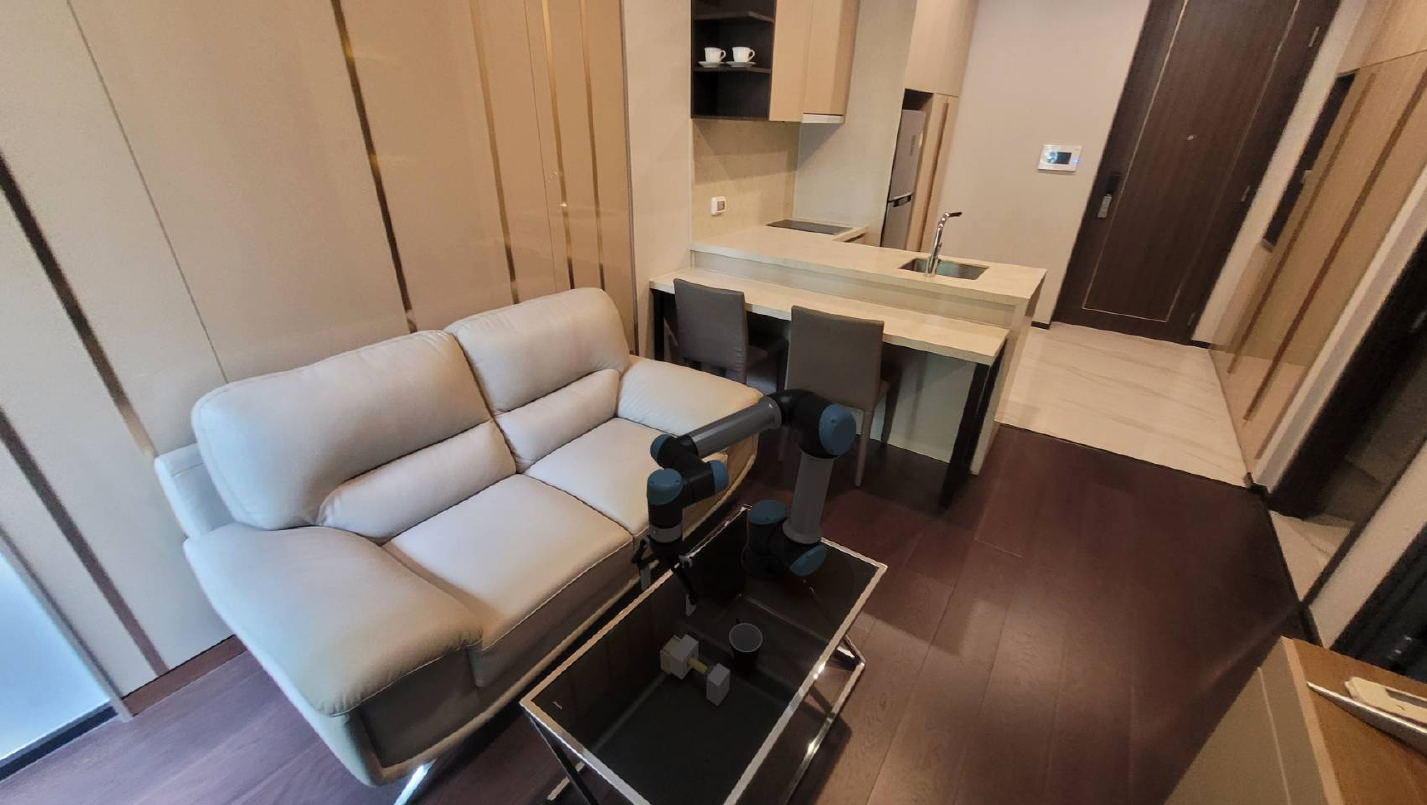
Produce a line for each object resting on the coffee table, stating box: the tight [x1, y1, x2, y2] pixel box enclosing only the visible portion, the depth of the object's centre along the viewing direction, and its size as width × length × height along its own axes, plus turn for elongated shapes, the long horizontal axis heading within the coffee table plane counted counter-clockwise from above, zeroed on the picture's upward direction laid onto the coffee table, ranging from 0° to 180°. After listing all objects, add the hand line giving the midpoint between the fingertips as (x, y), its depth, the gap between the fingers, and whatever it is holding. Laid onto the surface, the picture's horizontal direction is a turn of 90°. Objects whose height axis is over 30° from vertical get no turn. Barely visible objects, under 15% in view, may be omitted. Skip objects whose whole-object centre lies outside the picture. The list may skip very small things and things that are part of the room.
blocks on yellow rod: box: [659, 634, 731, 707], centre depth 134 cm, size 18×6×8 cm, turn 55°
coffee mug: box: [728, 617, 763, 674], centre depth 139 cm, size 12×9×10 cm
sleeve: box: [669, 633, 699, 680], centre depth 135 cm, size 4×7×7 cm, turn 145°
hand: (668, 598), depth 127 cm, fingers open, 13 cm apart
